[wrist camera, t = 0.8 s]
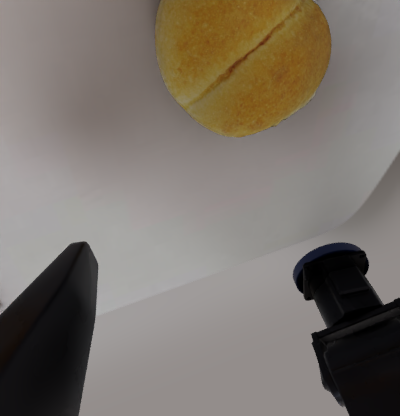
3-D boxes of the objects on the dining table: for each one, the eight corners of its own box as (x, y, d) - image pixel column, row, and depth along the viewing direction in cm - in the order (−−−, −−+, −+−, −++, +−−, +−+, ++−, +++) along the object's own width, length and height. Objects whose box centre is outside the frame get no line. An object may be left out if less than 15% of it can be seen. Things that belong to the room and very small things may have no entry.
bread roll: (258, -120, 13) (289, -151, 9) (334, 64, 17) (372, 84, 14) (116, 20, 15) (104, 33, 12) (217, 147, 20) (227, 179, 17)
